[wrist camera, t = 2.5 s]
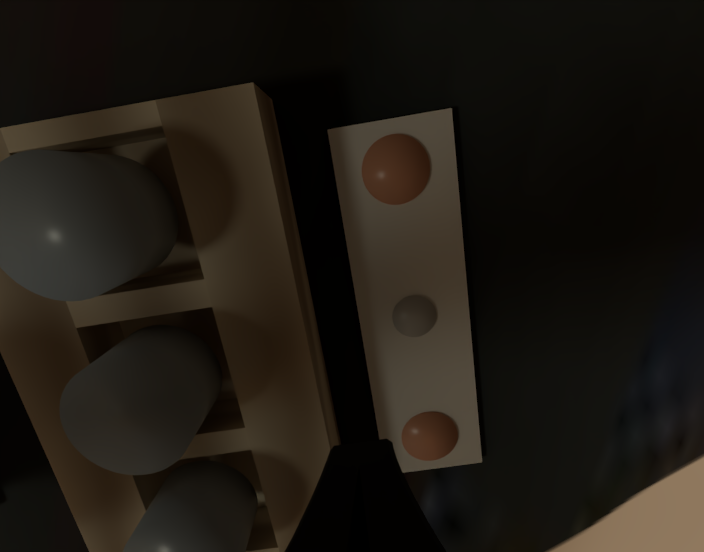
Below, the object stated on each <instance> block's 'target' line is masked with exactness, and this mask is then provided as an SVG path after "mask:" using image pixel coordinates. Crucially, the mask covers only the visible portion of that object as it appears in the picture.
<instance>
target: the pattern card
mask: <svg viewBox="0 0 704 552" xmlns="http://www.w3.org/2000/svg"><path fill="white" fill-rule="evenodd" d="M327 131H328V137H329V142H330V148H331V154H332V160H333V166H334V172H335V178H336V184H337V190H338V196H339V202H340V208H341V214H342V220H343V226H344V232H345V238H346V244H347V249H348V255H349V261H350V267H351V273H352V279H353V285H354V291H355V297H356V303H357V309H358V315H359V321H360V327H361V333H362V339H363V345H364V350H365V356H366V362H367V368H368V374H369V380H370V386H371V392H372V398H373V404H374V410H375V416H376V422H377V428H378V434H379V440H380V439H388V440H390V441H391V442H392V443H393V448H394V451H395V454H396V458H397V460H398V463H399V465H400V468H401V470H402V472H403V473H404V472H412V471H420V470H427V469H435V468H442V467H450V466H458V465H465V464H473V463H480V462H482V454H481V442H480V431H479V419H478V408H477V396H476V384H475V373H474V361H473V349H472V338H471V326H470V315H469V303H468V291H467V280H466V268H465V256H464V245H463V233H462V221H461V210H460V198H459V187H458V175H457V163H456V152H455V140H454V128H453V117H452V108H448V109H443V110H437V111H431V112H425V113H420V114H414V115H408V116H402V117H397V118H391V119H385V120H379V121H374V122H368V123H362V124H356V125H351V126H345V127H339V128H333V129H328V130H327Z"/></svg>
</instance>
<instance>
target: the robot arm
mask: <svg viewBox="0 0 704 552" xmlns="http://www.w3.org/2000/svg"><path fill="white" fill-rule="evenodd" d="M285 552H446V551H445V549H444V547H443V546H442V544H441V543H440V541H439V540H438V538H437V536H436V535H435V533H434V531H433V529H432V528H431V526H430V524H429V523H428V521H427V519H426V517H425V515H424V514H423V512H422V510H421V508H420V506H419V505H418V503H417V501H416V499H415V497H414V495H413V493H412V491H411V489H410V487H409V485H408V483H407V481H406V479H405V477H404V475H403V472H402V470H401V468H400V465H399V463H398V460H397V458H396V454H395V451H394V448H393V443H392V442H391V441H390V440H388V439H380V440H373V441H365V442H358V443H351V444H343V445H336V446H333V448H332V449H331V450H330V452H329V455H328V458H327V461H326V463H325V466H324V468H323V471H322V474H321V476H320V478H319V481H318V483H317V486H316V488H315V490H314V492H313V495H312V497H311V499H310V501H309V503H308V506H307V508H306V510H305V512H304V514H303V516H302V518H301V520H300V522H299V525H298V527H297V529H296V531H295V533H294V535H293V537H292V539H291V541H290V542H289V544H288V546H287V548H286V550H285Z"/></svg>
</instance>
